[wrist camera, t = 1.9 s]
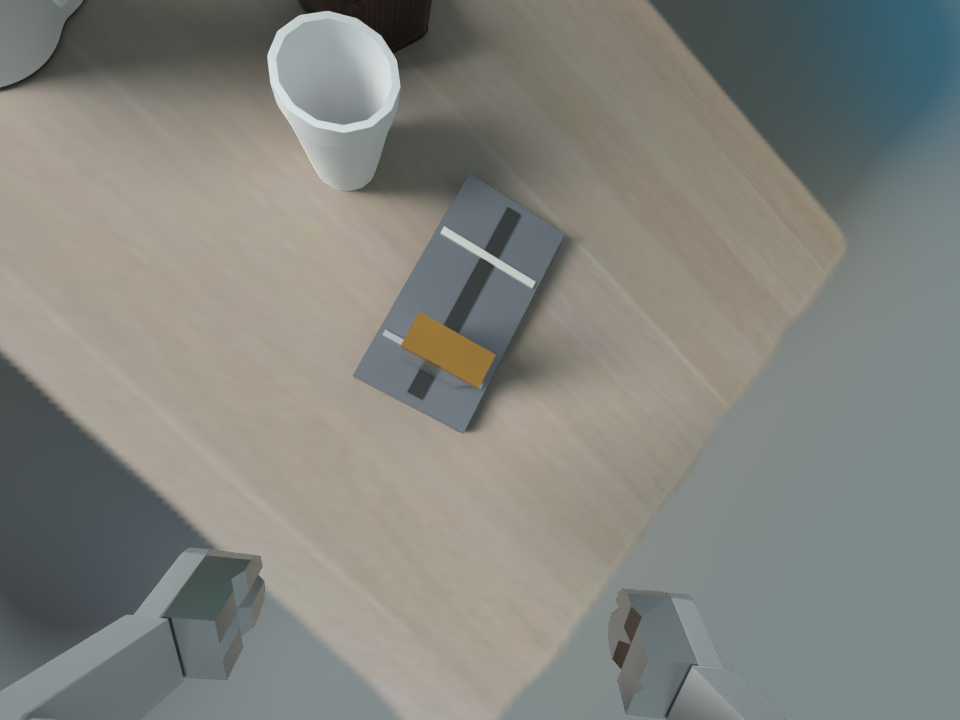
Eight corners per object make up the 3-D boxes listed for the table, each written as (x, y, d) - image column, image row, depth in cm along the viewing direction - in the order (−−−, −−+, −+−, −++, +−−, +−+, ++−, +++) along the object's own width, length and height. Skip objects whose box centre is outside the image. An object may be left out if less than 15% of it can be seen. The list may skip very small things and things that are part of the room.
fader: (458, 389, 44) (479, 387, 36) (394, 355, 43) (400, 344, 35) (472, 363, 45) (495, 354, 36) (410, 328, 44) (419, 311, 35)
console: (459, 432, 46) (464, 433, 44) (353, 376, 44) (352, 375, 42) (557, 239, 51) (565, 232, 49) (465, 181, 49) (469, 171, 47)
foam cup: (374, 220, 46) (376, 152, 34) (282, 184, 44) (248, 99, 32) (403, 139, 48) (415, 45, 35) (315, 102, 46) (295, -11, 33)
